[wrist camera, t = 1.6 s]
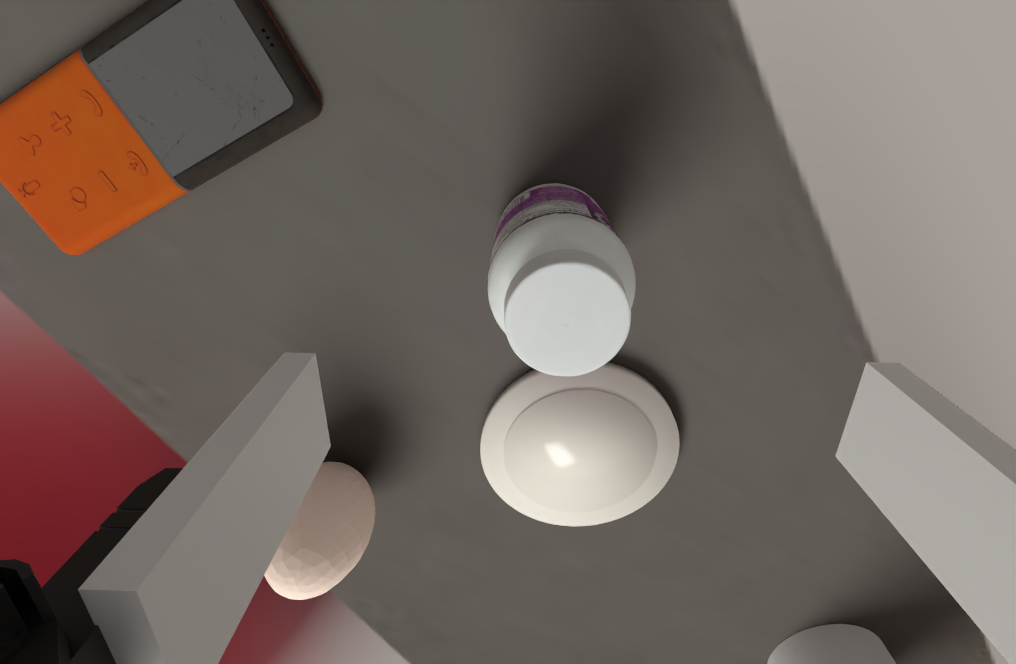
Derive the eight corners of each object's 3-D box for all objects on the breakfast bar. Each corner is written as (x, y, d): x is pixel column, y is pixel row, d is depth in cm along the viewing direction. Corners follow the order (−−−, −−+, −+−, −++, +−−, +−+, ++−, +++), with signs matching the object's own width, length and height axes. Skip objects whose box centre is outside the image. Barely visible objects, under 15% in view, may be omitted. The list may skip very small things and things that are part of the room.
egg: (366, 428, 30) (320, 538, 23) (401, 500, 33) (368, 620, 26) (279, 448, 31) (207, 561, 24) (318, 517, 33) (264, 638, 26)
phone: (-53, 132, 23) (220, -58, 20) (-26, 129, 24) (236, -52, 21) (63, 262, 26) (322, 112, 22) (83, 254, 27) (332, 110, 24)
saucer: (479, 357, 28) (478, 367, 27) (689, 360, 28) (695, 370, 27) (482, 514, 33) (481, 527, 32) (662, 518, 33) (665, 530, 32)
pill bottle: (615, 279, 26) (662, 382, 17) (508, 300, 27) (503, 410, 18) (599, 167, 24) (645, 223, 15) (483, 192, 24) (463, 259, 16)
